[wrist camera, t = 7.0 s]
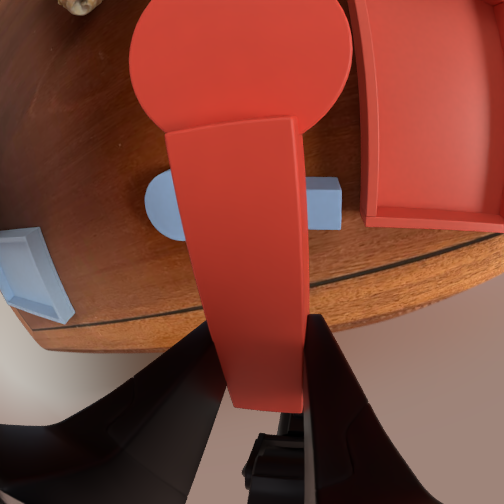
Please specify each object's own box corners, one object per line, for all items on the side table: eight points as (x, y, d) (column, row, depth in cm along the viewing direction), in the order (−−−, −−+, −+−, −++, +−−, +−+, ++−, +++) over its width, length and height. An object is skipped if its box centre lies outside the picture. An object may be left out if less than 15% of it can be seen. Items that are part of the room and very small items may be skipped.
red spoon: (340, 350, 10) (340, 415, 7) (221, 344, 11) (199, 402, 8) (328, -22, 4) (332, -78, 2) (158, 8, 5) (96, -17, 3)
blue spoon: (337, 157, 15) (342, 166, 13) (336, 229, 17) (339, 250, 15) (152, 168, 18) (129, 179, 15) (164, 230, 20) (145, 247, 17)
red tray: (499, 220, 14) (515, 234, 12) (359, 212, 16) (365, 227, 14) (492, 3, 6) (509, -3, 4) (339, -35, 9) (341, -51, 7)
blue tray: (40, 226, 23) (25, 236, 21) (75, 312, 28) (64, 324, 26) (-11, 231, 27) (-22, 239, 25) (16, 296, 32) (7, 304, 30)
